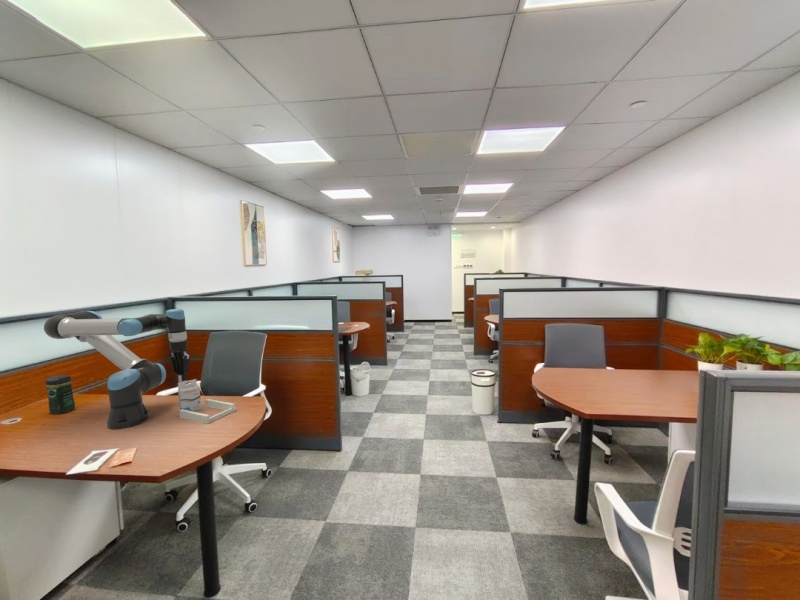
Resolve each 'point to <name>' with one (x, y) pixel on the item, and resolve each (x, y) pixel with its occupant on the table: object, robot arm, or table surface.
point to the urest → (206, 418)
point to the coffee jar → (60, 394)
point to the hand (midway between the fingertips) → (183, 386)
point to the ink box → (189, 395)
